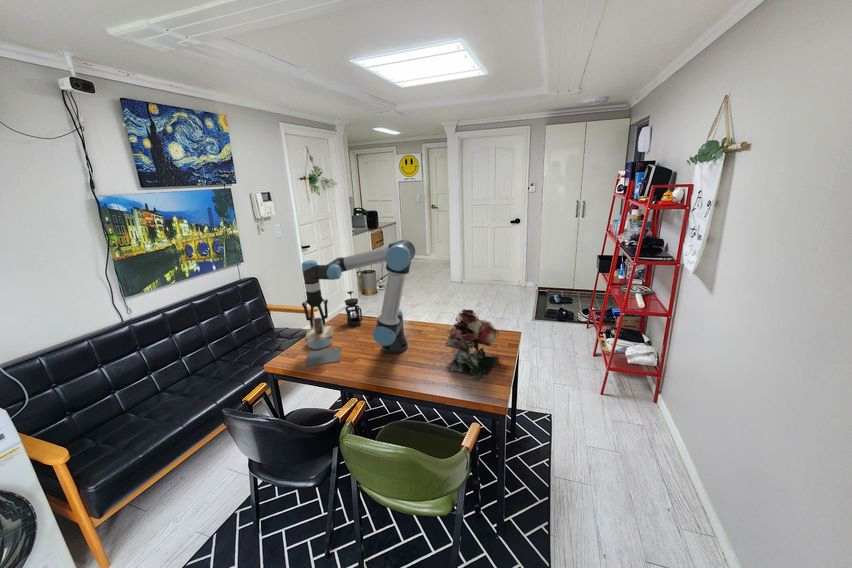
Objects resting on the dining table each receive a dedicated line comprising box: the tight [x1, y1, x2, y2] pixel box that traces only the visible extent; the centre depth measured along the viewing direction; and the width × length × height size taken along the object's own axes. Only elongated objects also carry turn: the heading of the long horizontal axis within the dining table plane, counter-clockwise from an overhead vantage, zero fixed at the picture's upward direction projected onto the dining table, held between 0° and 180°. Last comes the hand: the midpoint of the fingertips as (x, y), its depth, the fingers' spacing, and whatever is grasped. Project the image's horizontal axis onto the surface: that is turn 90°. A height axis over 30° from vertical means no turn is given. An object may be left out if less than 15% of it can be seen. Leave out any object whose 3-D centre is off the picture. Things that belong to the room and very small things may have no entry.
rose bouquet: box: [444, 308, 500, 382], centre depth 180 cm, size 26×29×30 cm
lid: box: [304, 317, 334, 343], centre depth 193 cm, size 14×14×10 cm
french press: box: [344, 290, 363, 328], centre depth 236 cm, size 12×9×23 cm
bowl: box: [307, 339, 332, 350], centre depth 213 cm, size 13×13×6 cm
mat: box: [305, 347, 341, 368], centre depth 198 cm, size 18×16×1 cm
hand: (319, 330), depth 193 cm, fingers closed on lid, 4 cm apart
